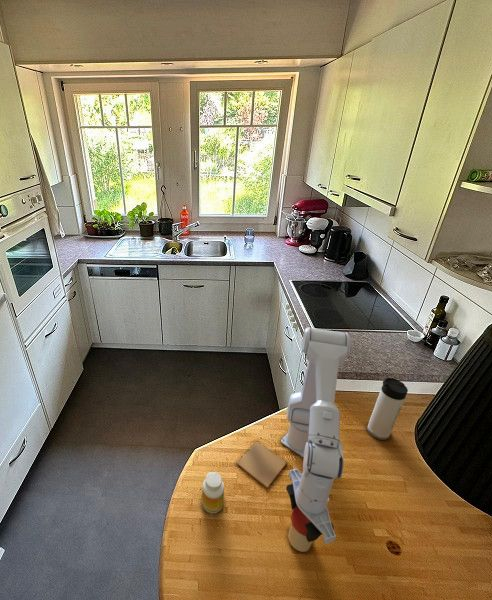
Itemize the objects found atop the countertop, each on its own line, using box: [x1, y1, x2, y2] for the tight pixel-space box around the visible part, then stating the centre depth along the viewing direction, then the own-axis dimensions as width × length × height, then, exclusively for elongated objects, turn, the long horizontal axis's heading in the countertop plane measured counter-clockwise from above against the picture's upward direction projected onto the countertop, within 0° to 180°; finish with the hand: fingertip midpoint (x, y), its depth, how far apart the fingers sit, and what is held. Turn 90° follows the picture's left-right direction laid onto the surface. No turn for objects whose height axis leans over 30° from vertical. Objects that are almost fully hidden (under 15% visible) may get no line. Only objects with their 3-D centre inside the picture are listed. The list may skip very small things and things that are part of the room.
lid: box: [290, 506, 311, 536], centre depth 72 cm, size 6×6×2 cm
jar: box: [287, 522, 313, 553], centre depth 73 cm, size 5×5×8 cm
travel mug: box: [366, 377, 409, 441], centre depth 97 cm, size 6×7×20 cm
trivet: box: [236, 441, 287, 489], centre depth 92 cm, size 10×10×1 cm
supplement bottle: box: [201, 471, 225, 514], centre depth 80 cm, size 5×5×10 cm
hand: (303, 524), depth 72 cm, fingers closed on lid, 5 cm apart
